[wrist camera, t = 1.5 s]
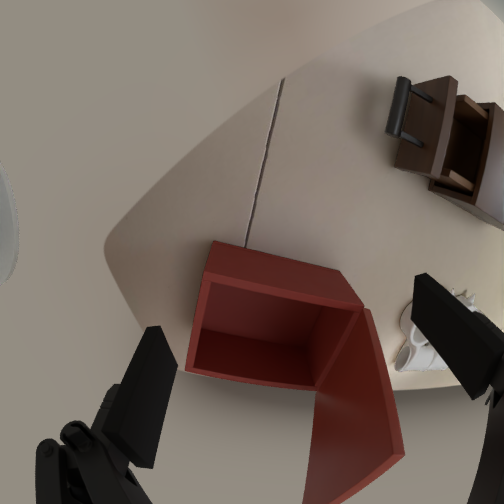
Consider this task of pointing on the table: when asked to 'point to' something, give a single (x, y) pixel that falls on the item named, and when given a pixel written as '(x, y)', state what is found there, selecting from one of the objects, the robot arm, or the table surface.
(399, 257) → the table surface
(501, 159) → the cabinet
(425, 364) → the white brass knuckles
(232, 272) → the chest
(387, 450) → the lid
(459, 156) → the drawer
